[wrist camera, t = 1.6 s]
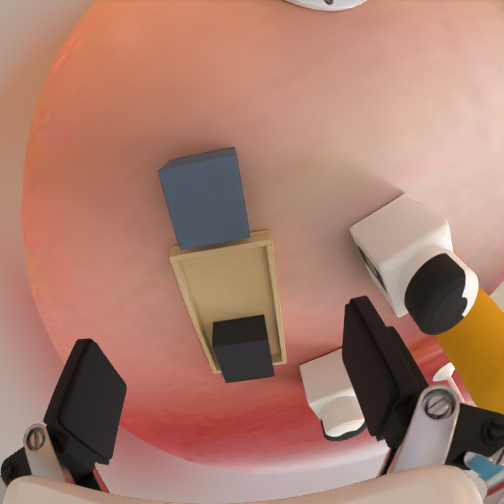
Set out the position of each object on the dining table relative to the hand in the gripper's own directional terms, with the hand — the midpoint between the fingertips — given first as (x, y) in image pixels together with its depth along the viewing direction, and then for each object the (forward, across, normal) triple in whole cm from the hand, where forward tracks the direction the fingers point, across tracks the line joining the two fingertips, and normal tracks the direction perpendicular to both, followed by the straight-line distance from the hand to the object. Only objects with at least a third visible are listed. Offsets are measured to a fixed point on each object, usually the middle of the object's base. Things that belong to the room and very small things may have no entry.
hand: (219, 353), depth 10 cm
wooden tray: (+18, +1, +13) cm, 23 cm away
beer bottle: (+18, -27, +17) cm, 37 cm away
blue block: (+18, +1, -1) cm, 18 cm away
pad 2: (+18, +1, +18) cm, 25 cm away
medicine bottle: (+19, -10, +28) cm, 35 cm away
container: (+18, -17, +7) cm, 26 cm away
